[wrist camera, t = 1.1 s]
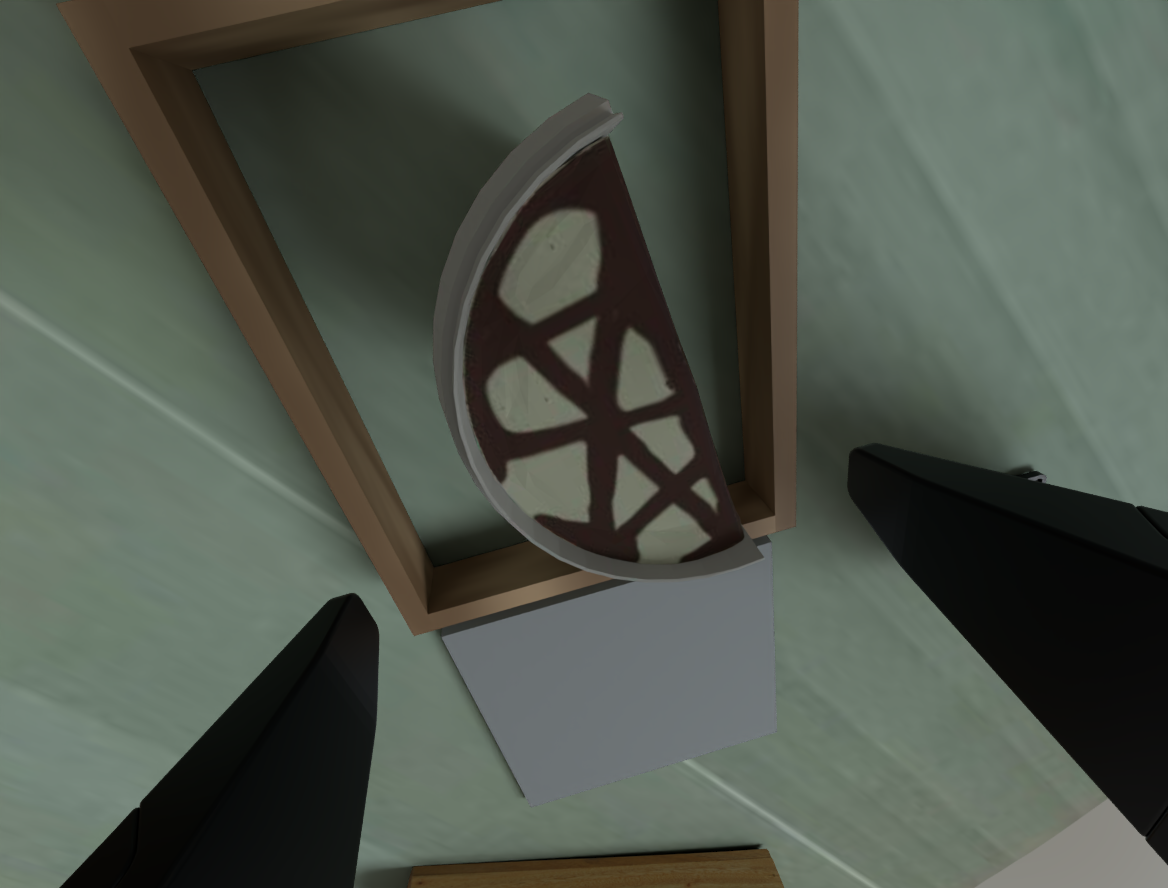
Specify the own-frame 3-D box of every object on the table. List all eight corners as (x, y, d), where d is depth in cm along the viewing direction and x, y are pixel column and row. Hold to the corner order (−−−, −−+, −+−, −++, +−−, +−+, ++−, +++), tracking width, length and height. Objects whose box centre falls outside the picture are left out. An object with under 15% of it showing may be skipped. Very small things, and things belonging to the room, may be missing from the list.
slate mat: (766, 535, 27) (771, 542, 27) (772, 723, 36) (776, 731, 36) (442, 628, 26) (441, 637, 26) (530, 798, 35) (530, 807, 35)
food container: (382, 207, 17) (278, 243, 8) (545, 125, 17) (611, 74, 8) (539, 477, 23) (572, 659, 15) (661, 420, 23) (769, 572, 14)
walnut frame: (744, -101, 15) (799, -157, 12) (764, 490, 26) (796, 526, 23) (135, 35, 14) (55, 3, 12) (421, 587, 25) (414, 636, 22)
